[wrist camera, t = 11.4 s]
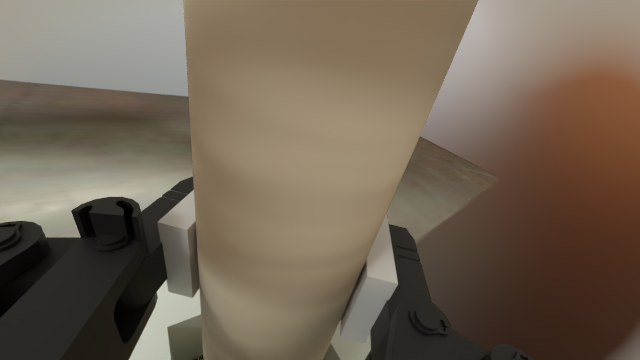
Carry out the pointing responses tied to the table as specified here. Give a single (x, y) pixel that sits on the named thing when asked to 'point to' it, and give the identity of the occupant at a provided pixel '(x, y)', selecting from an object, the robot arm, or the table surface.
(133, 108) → the table surface
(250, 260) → the beech leg
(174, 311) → the board
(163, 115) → the table surface
